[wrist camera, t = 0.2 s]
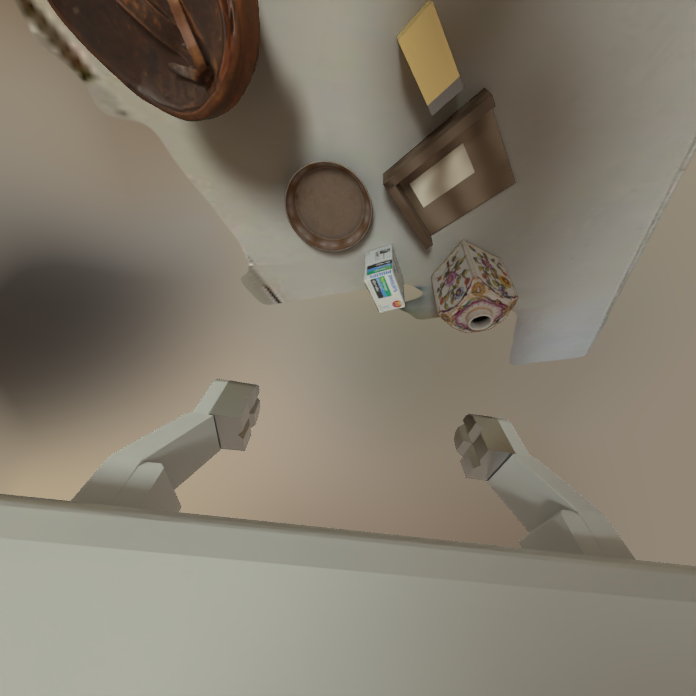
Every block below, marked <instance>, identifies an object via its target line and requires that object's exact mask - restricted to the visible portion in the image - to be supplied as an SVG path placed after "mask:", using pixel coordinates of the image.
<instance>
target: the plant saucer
mask: <svg viewBox="0 0 696 696" xmlns="http://www.w3.org/2000/svg"><path fill="white" fill-rule="evenodd" d="M285 210H286V215H287V218H288V220H289V223H290V225H291V226H292V228H293V230H294V231H295V232H296V234H297V235H298V236H299V237H300V238H301V239H302V240H303V241H305V242H306V243H307V244H309V245H311V246H313V247H315V248H317V249H320V250H324V251H331V252H335V251H342V250H346V249H348V248H350V247H352V246H354V245H355V244H357V243H358V242H359V241H360V240H361V239H362V238H363V237H364V236H365V234H366V232H367V230H368V228H369V226H370V223H371V217H372V205H371V200H370V196H369V193H368V191H367V189H366V187H365V185H364V183H363V182H362V180H361V179H360V178H359V177H358V176H357V175H356V174H355V173H354V172H353V171H352V170H350V169H349V168H347V167H346V166H344V165H342V164H339V163H336V162H332V161H316V162H312V163H309V164H307V165H305V166H303V167H302V168H300V169H299V170H298V171H297V172H296V173H295V174H294V175H293V176H292V178H291V179H290V181H289V183H288V186H287V188H286V193H285Z"/></svg>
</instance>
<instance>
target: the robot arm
mask: <svg viewBox="0 0 696 696" xmlns="http://www.w3.org/2000/svg"><path fill="white" fill-rule="evenodd" d="M258 394H259V386H258V385H255V384H248V383H242V382H236V381H228V380H222V379H216V380H214V381H213V382H212V384H211V385H210V387H209V388H208V390H207V391H206V393H205V394H204V396H203V397H202V399H201V400H200V402H199V403H198V405H197V406H196V408H195V409H194V410H193V412H187V413H185V414H183V415H182V416H180V417H178V418H176V419H174V420H173V421H171V422H169V423H167V424H165V425H164V426H162V427H160V428H158V429H157V430H155V431H153V432H151V433H149V434H148V435H146V436H144V437H142V438H140V439H139V440H137V441H135V442H133V443H132V444H130V445H128V446H126V447H125V448H123V449H121V450H119V451H118V452H116V453H114V454H112V455H110V456H109V457H108V458H107V459H106V461H105V462H104V463H103V464H102V465H101V466H100V467H99V469H98V470H97V471H96V472H95V473H94V474H93V476H92V477H91V478H90V479H89V481H87V483H86V484H85V485H84V486H83V487H82V488H81V490H80V491H79V492H78V493H77V494H76V496H75V497H74V498H73V499H72V500H71V501H63V500H54V499H45V498H35V497H25V496H15V495H6V494H0V696H696V566H688V565H680V564H670V563H661V562H651V561H641V560H636V559H635V558H634V556H633V555H632V554H631V552H630V551H629V549H628V548H627V546H626V545H625V544H624V542H623V541H622V539H621V538H620V536H619V535H618V533H617V532H616V531H615V529H614V528H613V527H612V525H611V523H610V522H609V521H608V519H607V518H606V517H605V515H604V514H603V513H602V512H601V511H600V510H598V509H597V508H596V507H595V506H594V505H592V504H591V503H590V502H589V501H587V500H586V499H585V498H584V497H583V496H581V495H580V494H579V493H578V492H577V491H575V490H574V489H573V488H572V487H571V486H569V485H568V484H567V483H566V482H564V481H563V480H562V479H561V478H559V477H558V476H557V475H556V474H555V473H553V472H552V471H551V470H550V469H549V468H547V467H546V466H545V465H544V464H542V463H541V462H540V461H539V460H538V459H536V458H535V457H533V456H530V455H529V453H528V451H527V450H526V448H525V446H524V445H523V443H522V441H521V440H520V438H519V436H518V434H517V433H516V431H515V429H514V428H513V426H512V424H511V423H510V421H508V420H507V419H504V418H496V417H489V416H481V415H473V414H468V415H466V416H465V418H464V419H463V422H464V424H463V425H461V426H460V427H458V428H457V430H456V432H455V437H454V442H455V447H456V450H457V451H458V452H459V454H460V455H462V458H461V465H462V467H463V470H464V473H465V476H466V478H471V479H478V480H485V481H488V483H489V485H490V486H491V487H492V488H493V490H494V491H495V492H496V493H497V494H498V495H499V497H500V498H501V499H502V500H503V502H504V503H505V504H506V505H507V506H508V508H509V509H510V510H511V511H512V513H513V514H514V515H515V516H516V517H517V519H518V520H519V521H520V522H521V523H522V524H523V526H524V527H525V528H526V529H527V531H528V532H529V533H528V534H527V535H526V536H524V537H523V538H521V540H520V542H519V544H520V546H521V548H515V547H507V546H496V545H487V544H477V543H467V542H458V541H449V540H439V539H430V538H429V539H428V538H420V537H411V536H401V535H391V534H382V533H371V532H362V531H353V530H344V529H334V528H324V527H315V526H305V525H295V524H286V523H276V522H267V521H257V520H247V519H237V518H227V517H218V516H208V515H199V514H189V513H180V512H179V511H180V509H181V505H180V502H179V500H178V498H177V496H176V493H175V491H174V490H175V489H176V488H177V487H178V486H179V485H180V484H181V483H182V482H184V481H185V480H186V479H187V478H189V477H190V476H191V475H192V474H193V473H194V472H195V471H197V470H198V469H199V468H200V467H201V466H202V465H204V464H205V463H206V462H207V461H208V460H209V459H210V458H212V457H213V456H214V455H215V454H216V453H217V452H219V451H220V449H230V450H241V451H245V449H246V446H247V444H248V441H249V439H250V436H251V429H250V428H251V427H253V426H254V425H255V423H256V421H257V418H258V414H259V408H260V400H259V399H258V398H257V396H258Z"/></svg>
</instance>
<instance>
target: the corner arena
mask: <svg viewBox="0 0 696 696" xmlns="http://www.w3.org/2000/svg"><path fill="white" fill-rule="evenodd" d="M494 107H495V103H494V99H493V96H492V94H491V93H490V92H489V91H488V90H487V89H485V88H484V89H483V90H482V91H480V92H479V93H478V94H477V95H476V96H474V97H473V98H472V99H471V100H470V101H469V102H467V103H466V104H465V105H464V106H463V107H462V108H460V109H459V110H458V111H457V112H456V113H454V114H453V115H452V116H451V117H450V118H449V119H447V120H446V121H445V122H444V123H443V124H442V125H440V126H439V127H438V128H437V129H436V130H434V131H433V132H432V133H431V134H430V135H429V136H427V137H426V138H425V139H424V140H423V141H422V142H420V143H419V144H418V145H417V146H416V147H414V148H413V149H412V150H411V151H410V152H409V153H407V154H406V155H405V156H404V157H403V158H401V159H400V160H399V161H398V162H397V163H396V164H394V165H393V166H392V167H391V168H390V169H389V170H387V171H386V172H385V173H384V174H383V185H384V186H385V188H386V189H387V191H388V192H389V194H390V195H391V197H392V198H393V200H394V201H395V203H396V204H397V206H398V207H399V209H400V210H401V212H402V213H403V215H404V217H405V218H406V220H407V221H408V223H409V224H410V226H411V227H412V229H413V230H414V232H415V233H416V235H417V236H418V238H419V239H420V241H421V242H422V244H423V245H424V247H425V248H426V249H427V248H429V247H431V246H432V245H433V244H432V238H431V234H433V233H435V232H436V231H438V230H439V229H441V228H443V227H444V226H446V225H448V224H449V223H451V222H452V221H454V220H456V219H457V218H459V217H461V216H462V215H464V214H465V213H467V212H469V211H470V210H472V209H474V208H475V207H477V206H478V205H480V204H482V203H483V202H485V201H487V200H488V199H490V198H491V197H493V196H495V195H496V194H498V193H499V192H501V191H503V190H504V189H506V188H508V187H509V186H511V185H512V184H514V183H515V179H514V176H513V173H512V170H511V167H510V164H509V161H508V158H507V154H506V151H505V148H504V145H503V142H502V139H501V136H500V132H499V129H498V126H497V123H496V120H495V117H494V114H493V110H492V108H494Z"/></svg>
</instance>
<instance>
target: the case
mask: <svg viewBox="0 0 696 696" xmlns="http://www.w3.org/2000/svg"><path fill="white" fill-rule="evenodd" d="M48 2H49V4H50V5H51V7H52V8H53V10H54V11H55V12H56V14H57V15H58V16H59V18H60V19H61V20H62V22H63V23H64V24H65V25H66V26H67V27H68V29H69V30H70V31H71V32H72V33H73V34H74V35H75V36H76V37H77V39H78V40H79V41H80V42H81V43H82V44H83V45H84V46H85V47H86V48H87V49H88V50H89V51H90V52H91V53H92V54H93V55H94V56H95V57H96V58H97V59H98V60H99V61H100V62H101V63H102V64H103V65H104V66H105V67H106V68H107V69H108V70H109V71H110V72H112V73H113V74H114V75H115V76H116V77H117V78H118V79H120V80H121V81H122V82H123V83H124V84H125V85H126V86H127V87H128V88H129V89H130V90H131V91H133V92H134V93H135V94H136V95H137V96H139V97H140V98H142V99H143V100H145V101H147V102H148V103H150V104H152V105H154V106H155V107H157V108H159V109H161V110H162V111H164V112H166V113H168V114H170V115H172V116H174V117H177V118H179V119H183V120H186V121H201V120H207V119H212V118H215V117H218V116H220V115H222V114H224V113H226V112H227V111H229V110H230V109H231V108H233V107H234V106H235V105H236V104H237V103H238V101H239V100H240V98H241V96H242V95H243V94H244V92H245V90H246V88H247V86H248V84H249V82H250V80H251V77H252V75H253V73H254V71H255V66H256V62H257V59H258V54H259V44H260V22H259V7H258V0H48Z"/></svg>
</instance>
